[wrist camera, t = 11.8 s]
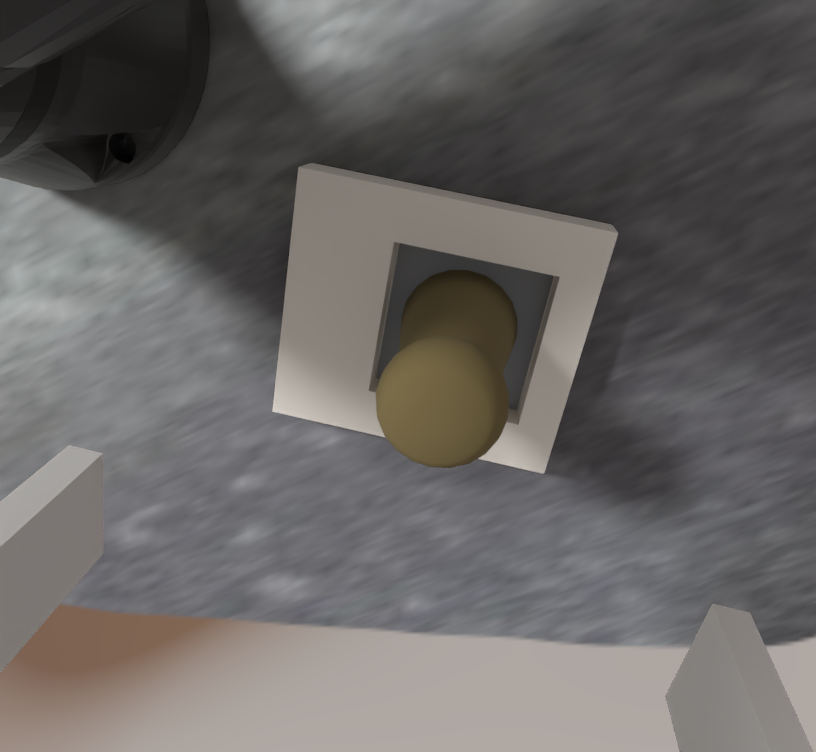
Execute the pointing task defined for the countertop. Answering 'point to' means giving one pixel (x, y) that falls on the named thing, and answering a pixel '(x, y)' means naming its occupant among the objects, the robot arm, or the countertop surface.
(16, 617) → the robot arm
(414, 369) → the cork
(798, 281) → the countertop surface
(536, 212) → the socket plate
